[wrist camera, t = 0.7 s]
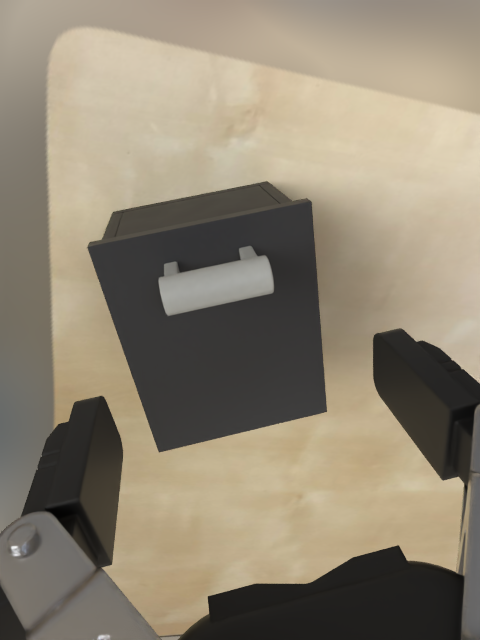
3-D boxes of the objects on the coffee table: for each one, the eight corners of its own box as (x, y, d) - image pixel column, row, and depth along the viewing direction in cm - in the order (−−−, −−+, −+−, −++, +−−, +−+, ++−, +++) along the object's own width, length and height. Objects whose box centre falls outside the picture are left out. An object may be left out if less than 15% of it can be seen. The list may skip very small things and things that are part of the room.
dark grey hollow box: (112, 211, 31) (94, 256, 22) (267, 181, 32) (307, 212, 23) (158, 363, 37) (158, 443, 29) (286, 335, 38) (322, 404, 30)
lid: (89, 242, 22) (71, 279, 17) (307, 197, 23) (343, 222, 18) (158, 444, 29) (158, 507, 24) (323, 404, 30) (352, 459, 25)
